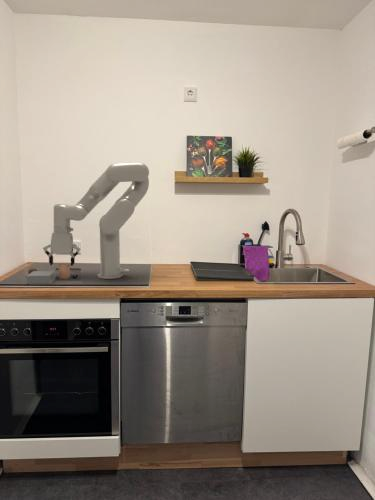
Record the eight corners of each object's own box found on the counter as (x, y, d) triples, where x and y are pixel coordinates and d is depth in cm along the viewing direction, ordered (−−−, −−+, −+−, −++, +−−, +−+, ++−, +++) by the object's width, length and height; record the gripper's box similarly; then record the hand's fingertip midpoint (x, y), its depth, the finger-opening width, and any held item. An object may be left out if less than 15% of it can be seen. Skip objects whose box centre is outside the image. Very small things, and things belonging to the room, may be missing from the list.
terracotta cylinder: (70, 276, 176) (70, 262, 175) (68, 278, 171) (68, 264, 170) (60, 276, 175) (59, 262, 174) (58, 279, 170) (57, 264, 169)
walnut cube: (37, 275, 177) (37, 267, 177) (37, 277, 174) (37, 269, 173) (28, 275, 176) (28, 268, 175) (28, 277, 172) (28, 269, 171)
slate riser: (55, 278, 170) (54, 270, 170) (50, 284, 161) (49, 275, 160) (33, 279, 169) (33, 271, 168) (27, 284, 159) (26, 275, 159)
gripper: (81, 230, 174) (81, 263, 177) (45, 228, 171) (45, 262, 174) (79, 231, 167) (78, 267, 169) (41, 230, 164) (41, 265, 167)
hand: (61, 264), depth 172 cm, fingers open, 9 cm apart
